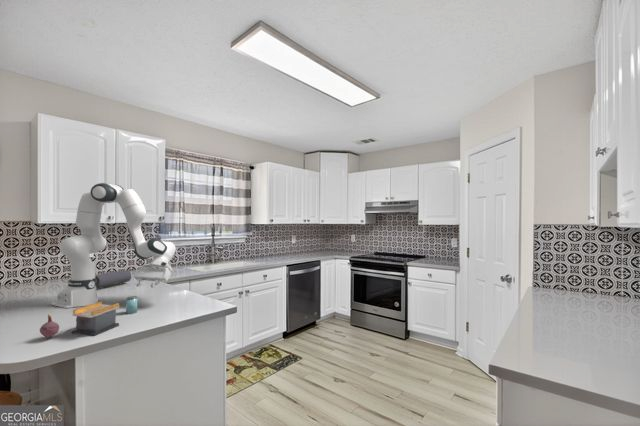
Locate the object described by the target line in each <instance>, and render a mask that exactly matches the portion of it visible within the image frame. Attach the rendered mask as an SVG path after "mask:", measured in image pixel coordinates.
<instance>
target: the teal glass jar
mask: <svg viewBox="0 0 640 426" xmlns="http://www.w3.org/2000/svg"><path fill="white" fill-rule="evenodd" d="M138 299H139V298H138V296H137V295H133V296H132V295H131V296H127V297H126V299H125V300H126V301H125V303H126V304H125V314H127V315H134V314H136V313H138Z"/></svg>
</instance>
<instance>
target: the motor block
mask: <svg viewBox="0 0 640 426" xmlns="http://www.w3.org/2000/svg"><path fill="white" fill-rule="evenodd" d="M119 308H120V303H118V302H116V303H114V304H113V303H112V304H103V301H101V300H100V301H98V302H96V303H94V304H91V305H86V306H80V307H77V308H75V309H73V310H72V316H73V317H76V318H75V319H76V320H75V323H76V324H75V326H76V328H74V329H72V330H71V333H72V334H76V335H78V334H79V335H86V336H94V337H95V336H98V335H102V333H105V332H108V331H110V330H112V329H115V328H116V327H119V326H120V323H119V322H116V321H117V320H116V319H117V318H116V316H117V315H116V313H117V309H119Z"/></svg>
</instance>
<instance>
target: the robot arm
mask: <svg viewBox="0 0 640 426" xmlns="http://www.w3.org/2000/svg"><path fill="white" fill-rule="evenodd" d="M106 203H107V204H112V203H117V204H119V207H120V208H121V211H122V213H123V215H124V217H125V220H126V226H127V230H128V232H129V235H130V237H131V240H132V243H133V247H134V248H133V251H134V254H135V257H137V258H138V259H140V260H147V259H150V258H151V257H153V258H152V260H151V262H150V263H149V265H145V264H144V265H142V266H140V267H139V268H138V270H136V271H135V272H134V274H133V278H134V279H135V280H136V283H135V286H136V287H138V288H139V287H141V285H142V283H141V282H142V281H146V282H148V281H149V282H152V283H151V285H150V287H151V288H152V289H153V288H155V287H156V286H157V285H159V284H160V283H165V282H167V281H168V280H169V279H170V276H171V274H172V273H173V270H174V269H173V268H172V266H171V265H170V264H169V262H170V261H171V260H172V259H173V257H174V256H175V252H176V250H177V247H176V245H175V244H174V243H173V242H171V241H164V240H161V239H159V238H157V237H151V238H149V239H145V236H144V234H143V231H142V224H143V221H144V220H145V218H146V216H147V210H146V207H145V205H144V203H143V201H142V199H141V197H140V196H139V194H137V192H136V191H135V190H134V189H132V188H124V187H122V185H119V184H114V183H109V182H108V183H106V182H100V183H96V184H94V185H93V186H92V187H91V188H90V191H89V192H85V193H83V194H82V196H81V198H80V199H79V202H78V206H77V210H76V218H75V225H76V226H77V227H78V228H79V230H80V235H73V236H69V237H67V238H63V240H62V241H60V243H59V251H60V252H61V254H63V255H64V256H65V257H66V258H67V259H68V263H69V265H70V279H69V280H68V279H67V281H66V284H67V286H65V288H64V289H61V291H59V292H58V293H57V296H56V300H54V301H52V302H51V303H50V305H51V306H56V307H59V308H63V309H68V308H76V307H77V308H80V307H84V306H87V305H91V304H94V303H97V302H99V296H98V292H97V291H98V288H96V286H95V284H96V277H95V276H96V271H97V270H96V269H97V265H96V263H95V262H94V261H92V260H91V258H90V254H96V253H99V252H102V251H103V250H104V249H105V248H106V246H107V240H106V238H105V237H104V236H103V234H102V231H101V219H102V212H103V206H104V205H105V204H106Z"/></svg>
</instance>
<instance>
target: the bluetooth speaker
mask: <svg viewBox="0 0 640 426" xmlns="http://www.w3.org/2000/svg"><path fill="white" fill-rule="evenodd" d="M95 277H96V284H95V286H96V289H101V288H104V289H108V288H113V287H114V288H115V287H117V286H118V287H119V286H120V285H121V284H124V283H127V282H131V280H132V273H131V271H130V270H126V269H125V270H117V271H112V272H106V273H102V274H101V273H100V274H97V275H96V274H95Z"/></svg>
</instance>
